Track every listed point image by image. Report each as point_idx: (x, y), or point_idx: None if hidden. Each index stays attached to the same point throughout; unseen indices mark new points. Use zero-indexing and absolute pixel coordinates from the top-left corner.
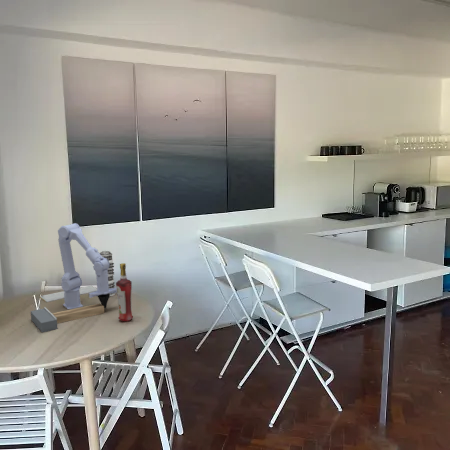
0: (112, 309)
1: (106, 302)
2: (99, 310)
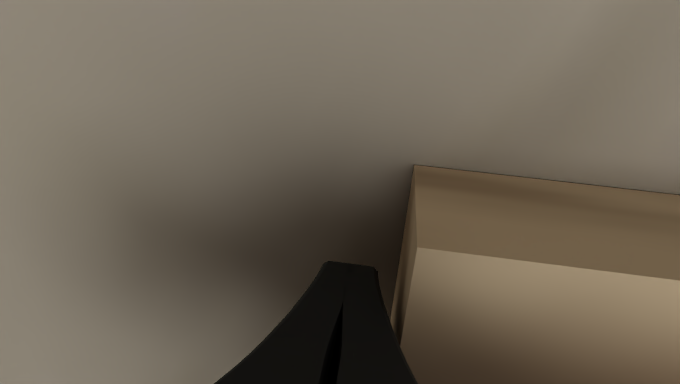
0: (199, 227)
1: (287, 345)
2: (541, 217)
